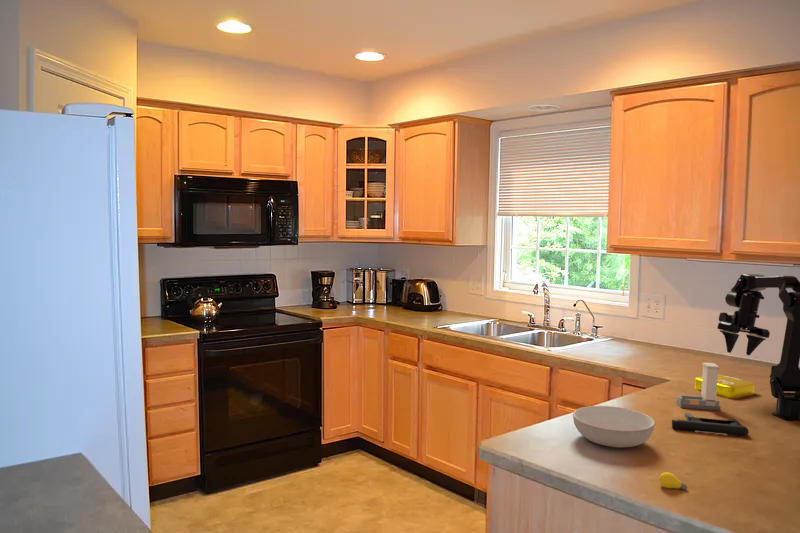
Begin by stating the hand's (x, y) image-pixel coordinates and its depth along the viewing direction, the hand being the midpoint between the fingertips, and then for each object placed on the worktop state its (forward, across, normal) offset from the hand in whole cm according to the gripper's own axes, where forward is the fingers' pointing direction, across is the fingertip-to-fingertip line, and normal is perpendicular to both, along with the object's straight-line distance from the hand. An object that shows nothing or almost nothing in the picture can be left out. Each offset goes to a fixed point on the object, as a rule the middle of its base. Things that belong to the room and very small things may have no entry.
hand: (738, 353), depth 216 cm
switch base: (+18, +21, +7) cm, 29 cm away
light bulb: (+25, +77, +54) cm, 97 cm away
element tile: (+15, -4, -6) cm, 17 cm away
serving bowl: (+25, +70, +26) cm, 79 cm away
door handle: (+20, +35, +23) cm, 46 cm away
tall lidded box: (+16, +19, +8) cm, 26 cm away
